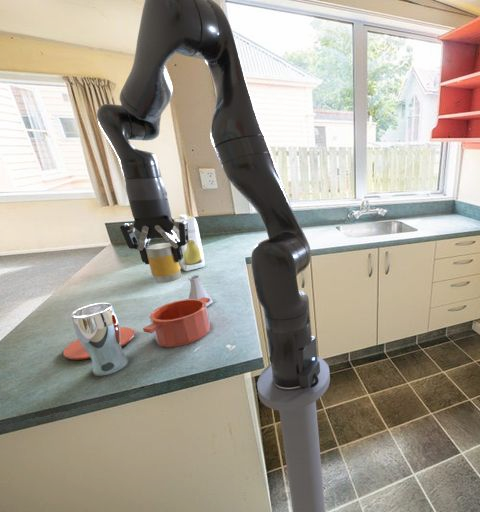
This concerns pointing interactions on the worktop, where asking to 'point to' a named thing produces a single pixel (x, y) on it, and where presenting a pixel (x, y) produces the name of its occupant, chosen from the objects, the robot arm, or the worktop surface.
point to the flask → (198, 289)
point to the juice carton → (190, 245)
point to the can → (163, 263)
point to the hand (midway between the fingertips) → (164, 262)
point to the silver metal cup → (100, 337)
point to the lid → (79, 352)
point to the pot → (180, 322)
